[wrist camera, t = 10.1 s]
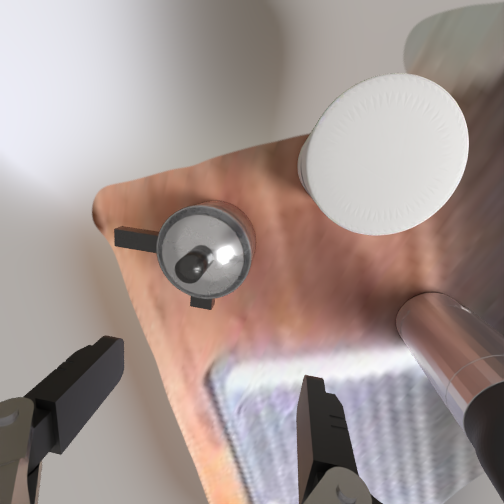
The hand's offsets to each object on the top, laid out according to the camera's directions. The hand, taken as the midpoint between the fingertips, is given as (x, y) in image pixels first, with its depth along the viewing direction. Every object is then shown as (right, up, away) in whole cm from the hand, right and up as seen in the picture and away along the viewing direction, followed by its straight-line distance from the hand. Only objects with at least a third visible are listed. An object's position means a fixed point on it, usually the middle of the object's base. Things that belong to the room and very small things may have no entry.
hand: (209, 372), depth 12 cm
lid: (-4, +5, +23) cm, 24 cm away
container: (+13, +17, +25) cm, 33 cm away
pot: (-7, +6, +31) cm, 32 cm away
